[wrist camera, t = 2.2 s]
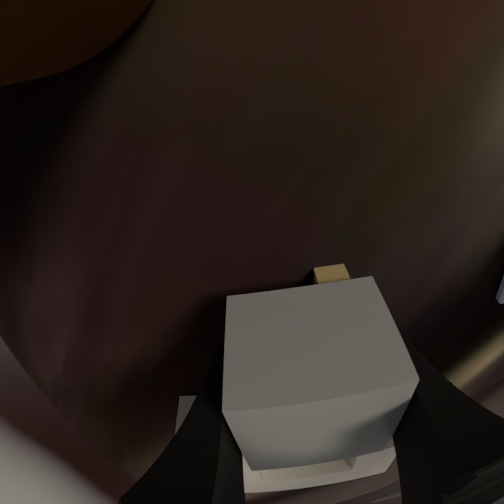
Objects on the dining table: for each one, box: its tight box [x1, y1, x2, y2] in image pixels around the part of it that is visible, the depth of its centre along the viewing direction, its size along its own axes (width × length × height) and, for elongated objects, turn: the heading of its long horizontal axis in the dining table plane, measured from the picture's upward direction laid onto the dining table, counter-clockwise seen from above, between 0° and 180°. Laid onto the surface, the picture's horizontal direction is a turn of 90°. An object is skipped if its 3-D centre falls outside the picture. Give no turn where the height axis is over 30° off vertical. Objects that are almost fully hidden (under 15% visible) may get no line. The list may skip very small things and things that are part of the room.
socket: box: [175, 396, 396, 493], centre depth 19 cm, size 14×14×3 cm
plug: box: [222, 264, 420, 471], centre depth 11 cm, size 5×5×6 cm
